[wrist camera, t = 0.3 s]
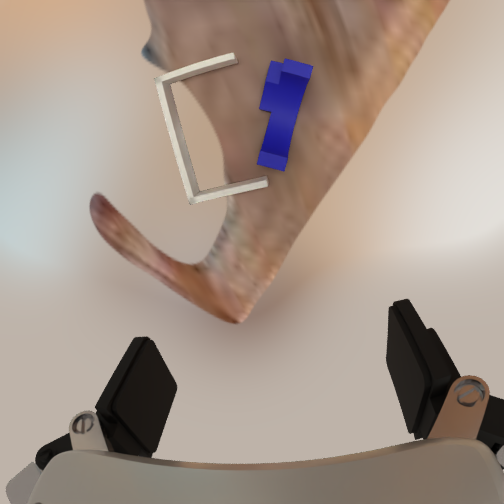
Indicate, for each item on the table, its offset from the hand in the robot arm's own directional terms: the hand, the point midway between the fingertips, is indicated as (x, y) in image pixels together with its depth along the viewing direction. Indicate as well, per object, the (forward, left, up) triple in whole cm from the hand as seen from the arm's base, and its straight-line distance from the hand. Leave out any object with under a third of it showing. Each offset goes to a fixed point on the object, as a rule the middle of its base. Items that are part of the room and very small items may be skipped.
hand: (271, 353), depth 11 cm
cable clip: (-9, +2, -30) cm, 31 cm away
